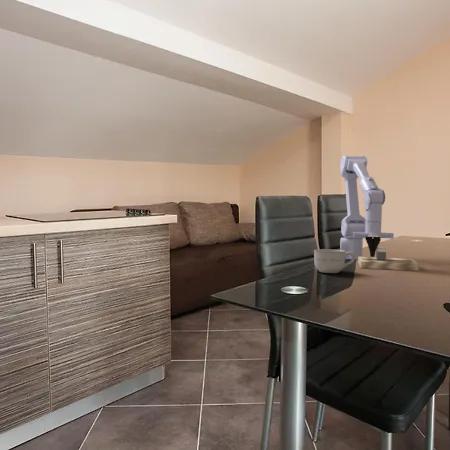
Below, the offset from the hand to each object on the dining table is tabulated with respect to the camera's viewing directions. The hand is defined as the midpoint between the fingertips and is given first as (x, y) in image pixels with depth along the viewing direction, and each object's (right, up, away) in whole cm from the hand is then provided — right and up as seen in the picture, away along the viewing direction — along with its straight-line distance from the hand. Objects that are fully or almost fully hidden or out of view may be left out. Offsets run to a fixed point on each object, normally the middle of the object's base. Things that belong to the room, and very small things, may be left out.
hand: (372, 256), depth 155 cm
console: (+5, -4, -1) cm, 6 cm away
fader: (+3, -1, -1) cm, 3 cm away
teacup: (-18, -5, -13) cm, 23 cm away
